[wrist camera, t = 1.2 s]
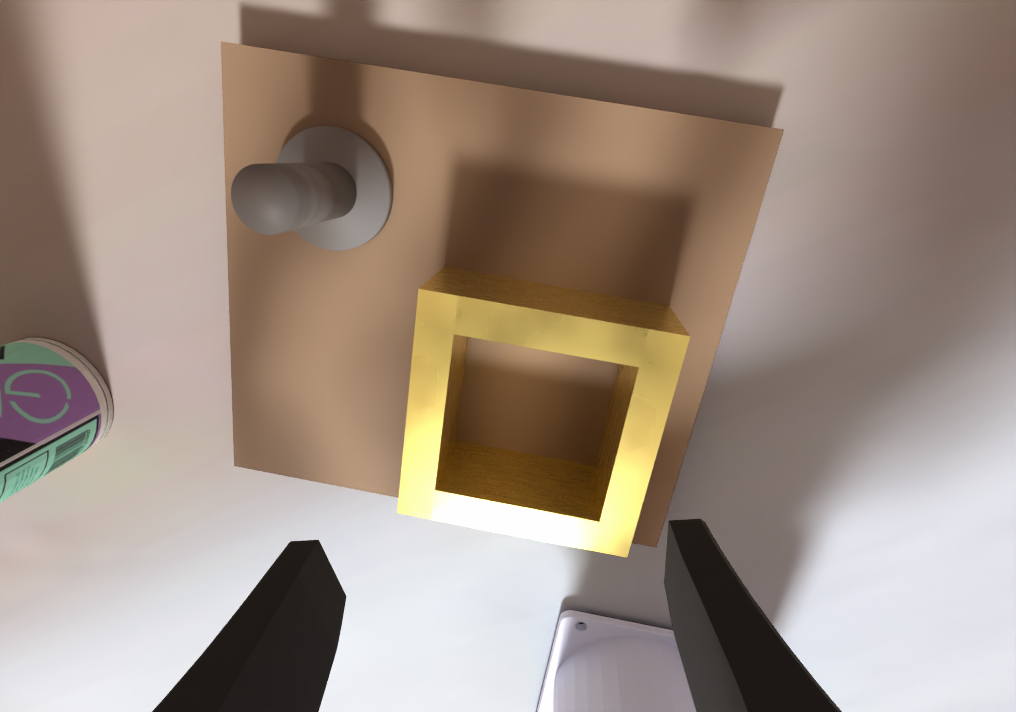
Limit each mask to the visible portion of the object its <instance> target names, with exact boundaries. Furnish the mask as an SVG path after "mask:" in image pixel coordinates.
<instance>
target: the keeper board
mask: <svg viewBox="0 0 1016 712" xmlns="http://www.w3.org/2000/svg"><path fill="white" fill-rule="evenodd" d="M221 58H222V90H223V122H224V154H225V186H226V217H227V249H228V281H229V313H230V345H231V377H232V409H233V441H234V466H238V467H243V468H248V469H253V470H258V471H263V472H269V473H274V474H279V475H284V476H289V477H294V478H300V479H305V480H310V481H315V482H320V483H326V484H331V485H336V486H341V487H346V488H351V489H357V490H362V491H367V492H372V493H377V494H382V495H388V496H393V497H398V498H399V488H400V478H401V467H402V457H403V446H404V436H405V425H406V415H407V404H408V394H409V383H410V373H411V362H412V352H413V341H414V330H415V320H416V309H417V299H418V289H419V288H420V287H421V286H422V285H423V284H425V283H426V282H427V281H428V280H429V279H430V278H431V277H433V276H434V275H435V274H436V273H437V272H438V271H439V270H441V269H442V268H443V267H449V268H455V269H461V270H467V271H472V272H478V273H484V274H490V275H496V276H501V277H507V278H513V279H519V280H524V281H530V282H536V283H542V284H548V285H553V286H559V287H565V288H571V289H577V290H582V291H588V292H594V293H600V294H605V295H611V296H617V297H623V298H629V299H634V300H640V301H646V302H652V303H658V304H663V305H669V306H670V307H671V309H672V310H673V312H674V313H675V314H676V316H677V317H678V319H679V320H680V322H681V323H682V325H683V326H684V328H685V329H686V331H687V332H688V334H689V335H690V339H689V343H688V346H687V350H686V354H685V357H684V361H683V364H682V368H681V371H680V375H679V378H678V382H677V385H676V389H675V392H674V396H673V399H672V403H671V406H670V410H669V413H668V417H667V420H666V424H665V427H664V431H663V434H662V438H661V441H660V445H659V448H658V452H657V455H656V459H655V462H654V466H653V469H652V473H651V476H650V480H649V483H648V487H647V490H646V494H645V497H644V501H643V504H642V508H641V511H640V515H639V518H638V522H637V525H636V529H635V532H634V536H633V539H632V543H636V544H641V545H646V546H651V547H657V543H658V540H659V537H660V533H661V530H662V527H663V524H664V520H665V517H666V514H667V511H668V507H669V504H670V501H671V498H672V494H673V491H674V488H675V484H676V481H677V478H678V475H679V471H680V468H681V465H682V462H683V458H684V455H685V452H686V448H687V445H688V442H689V439H690V435H691V432H692V429H693V426H694V422H695V419H696V416H697V413H698V409H699V406H700V403H701V399H702V396H703V393H704V390H705V386H706V383H707V380H708V377H709V373H710V370H711V367H712V363H713V360H714V357H715V354H716V350H717V347H718V344H719V341H720V337H721V334H722V331H723V328H724V324H725V321H726V318H727V314H728V311H729V308H730V305H731V301H732V298H733V295H734V292H735V288H736V285H737V282H738V278H739V275H740V272H741V269H742V265H743V262H744V259H745V256H746V252H747V249H748V246H749V243H750V239H751V236H752V233H753V229H754V226H755V223H756V220H757V216H758V213H759V210H760V207H761V203H762V200H763V197H764V193H765V190H766V187H767V184H768V180H769V177H770V174H771V171H772V167H773V164H774V161H775V158H776V154H777V151H778V148H779V144H780V141H781V138H782V135H783V131H784V130H783V129H777V128H770V127H764V126H758V125H751V124H745V123H738V122H732V121H726V120H719V119H713V118H707V117H700V116H694V115H687V114H681V113H675V112H668V111H662V110H655V109H649V108H643V107H636V106H630V105H623V104H617V103H611V102H604V101H598V100H592V99H585V98H579V97H572V96H566V95H560V94H553V93H547V92H540V91H534V90H528V89H521V88H515V87H509V86H502V85H496V84H489V83H483V82H477V81H470V80H464V79H457V78H451V77H445V76H438V75H432V74H425V73H419V72H413V71H406V70H400V69H394V68H387V67H381V66H374V65H368V64H362V63H355V62H349V61H342V60H336V59H330V58H323V57H317V56H311V55H304V54H298V53H291V52H285V51H279V50H272V49H266V48H259V47H253V46H247V45H240V44H234V43H227V42H221ZM618 368H619V364H618V363H612V362H607V361H601V360H595V359H590V358H584V357H579V356H573V355H567V354H562V353H556V352H551V351H545V350H539V349H534V348H528V347H523V346H517V345H511V344H506V343H500V342H495V341H489V340H483V339H478V338H472V337H469V338H468V346H467V353H466V361H465V368H464V376H463V383H462V391H461V398H460V406H459V414H458V421H457V429H456V436H455V440H457V441H463V442H468V443H473V444H479V445H484V446H489V447H495V448H500V449H505V450H511V451H516V452H521V453H527V454H532V455H537V456H543V457H548V458H553V459H559V460H564V461H569V462H575V463H580V464H585V465H591V466H595V464H596V460H597V456H598V451H599V447H600V443H601V439H602V435H603V431H604V426H605V422H606V418H607V414H608V410H609V406H610V402H611V397H612V393H613V389H614V385H615V381H616V377H617V372H618Z"/></svg>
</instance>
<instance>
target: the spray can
mask: <svg viewBox="0 0 1016 712" xmlns="http://www.w3.org/2000/svg"><path fill="white" fill-rule="evenodd" d="M112 420H113V404H112V398H111V396H110V393H109V390H108V387H107V385H106V384H105V382H104V380H103V378H102V376H101V375H100V374H99V373H98V371H97V370H96V369H95V367H94V366H93V365H92V364H91V363H90V362H89V361H88V360H87V359H86V358H85V357H83V356H82V355H81V354H79V353H78V352H77V351H75V350H74V349H72V348H70V347H68V346H66V345H64V344H63V343H60V342H57V341H54V340H51V339H45V338H26V339H22V340H19V341H15V342H11V343H7V344H4V345H1V346H0V502H2V501H4V500H5V499H7V498H9V497H10V496H12V495H13V494H15V493H17V492H18V491H20V490H22V489H23V488H25V487H27V486H28V485H30V484H32V483H33V482H35V481H37V480H38V479H40V478H42V477H43V476H45V475H46V474H48V473H50V472H51V471H53V470H55V469H56V468H58V467H60V466H61V465H63V464H65V463H66V462H68V461H70V460H71V459H73V458H75V457H76V456H78V455H79V454H81V453H83V452H84V451H86V450H88V449H89V448H91V447H92V446H93V445H95V444H97V443H98V442H99V441H100V440H102V439H103V438H104V437H105V436H106V434H107V432H108V431H109V429H110V427H111V424H112Z"/></svg>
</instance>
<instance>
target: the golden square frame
mask: <svg viewBox="0 0 1016 712" xmlns="http://www.w3.org/2000/svg"><path fill="white" fill-rule="evenodd" d="M469 337H472V338H478V339H483V340H489V341H495V342H500V343H506V344H511V345H517V346H523V347H528V348H534V349H539V350H545V351H551V352H556V353H562V354H567V355H573V356H579V357H584V358H590V359H595V360H601V361H607V362H612V363H618V364H619V368H618V372H617V377H616V381H615V385H614V389H613V393H612V397H611V402H610V406H609V410H608V414H607V418H606V422H605V426H604V431H603V435H602V439H601V443H600V447H599V451H598V456H597V460H596V464H595V466H591V465H585V464H580V463H575V462H569V461H564V460H559V459H553V458H548V457H543V456H537V455H532V454H527V453H521V452H516V451H511V450H505V449H500V448H495V447H489V446H484V445H479V444H473V443H468V442H463V441H457V440H455V436H456V429H457V421H458V414H459V406H460V398H461V391H462V383H463V376H464V368H465V361H466V353H467V346H468V338H469ZM689 339H690V335H689V334H688V332H687V331H686V329H685V328H684V326H683V325H682V323H681V322H680V320H679V319H678V317H677V316H676V314H675V313H674V312H673V310H672V309H671V307H670V306H669V305H663V304H658V303H652V302H646V301H640V300H634V299H629V298H623V297H617V296H611V295H605V294H600V293H594V292H588V291H582V290H577V289H571V288H565V287H559V286H553V285H548V284H542V283H536V282H530V281H524V280H519V279H513V278H507V277H501V276H496V275H490V274H484V273H478V272H472V271H467V270H461V269H455V268H449V267H443V268H442V269H441V270H439V271H438V272H437V273H436V274H435V275H434V276H433V277H431V278H430V279H429V280H428V281H427V282H426V283H425V284H423V285H422V286H421V287H420V288H419V289H418V299H417V309H416V320H415V330H414V341H413V352H412V362H411V373H410V383H409V394H408V404H407V415H406V425H405V436H404V446H403V457H402V467H401V478H400V488H399V499H398V510H397V513H400V514H405V515H411V516H416V517H421V518H426V519H431V520H436V521H441V522H447V523H452V524H457V525H462V526H467V527H472V528H477V529H483V530H488V531H493V532H498V533H503V534H508V535H513V536H518V537H524V538H529V539H534V540H539V541H544V542H549V543H554V544H560V545H565V546H570V547H575V548H580V549H585V550H590V551H595V552H601V553H606V554H611V555H616V556H621V557H626V558H627V557H628V554H629V550H630V546H631V543H632V539H633V536H634V532H635V529H636V525H637V522H638V518H639V515H640V511H641V508H642V504H643V501H644V497H645V494H646V490H647V487H648V483H649V480H650V476H651V473H652V469H653V466H654V462H655V459H656V455H657V452H658V448H659V445H660V441H661V438H662V434H663V431H664V427H665V424H666V420H667V417H668V413H669V410H670V406H671V403H672V399H673V396H674V392H675V389H676V385H677V382H678V378H679V375H680V371H681V368H682V364H683V361H684V357H685V354H686V350H687V346H688V343H689Z"/></svg>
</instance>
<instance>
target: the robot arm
mask: <svg viewBox="0 0 1016 712" xmlns="http://www.w3.org/2000/svg"><path fill="white" fill-rule="evenodd" d="M664 584H665V589H666V595H667V600H668V606H669V611H670V616H671V621H672V627H673V630H669V629H664V628H659V627H654V626H649V625H644V624H639V623H634V622H629V621H624V620H619V619H614V618H609V617H604V616H599V615H594V614H589V613H584V612H579V611H574V610H567V611H564V612H562V613H561V615H560V617H559V621H558V625H557V630H556V634H555V638H554V642H553V646H552V650H551V654H550V659H549V663H548V667H547V671H546V675H545V679H544V683H543V688H542V692H541V696H540V700H539V704H538V708H537V712H842V711H841V710H840V709H839V708H838V707H837V706H836V704H835V703H834V702H833V701H832V700H831V699H830V697H829V696H828V695H827V694H826V693H825V691H824V690H823V689H822V688H821V686H820V685H819V684H818V683H817V682H816V680H815V679H814V678H813V677H812V675H811V674H810V673H809V672H808V670H807V669H806V668H805V667H804V665H803V664H802V663H801V662H800V660H799V659H798V658H797V657H796V655H795V654H794V653H793V651H792V650H791V649H790V648H789V646H788V645H787V644H786V642H785V641H784V640H783V638H782V637H781V636H780V634H779V633H778V632H777V630H776V629H775V628H774V626H773V625H772V623H771V622H770V621H769V619H768V618H767V617H766V615H765V614H764V613H763V611H762V610H761V608H760V607H759V606H758V604H757V603H756V602H755V600H754V599H753V597H752V596H751V594H750V593H749V591H748V590H747V589H746V587H745V586H744V584H743V583H742V581H741V580H740V578H739V577H738V575H737V574H736V572H735V571H734V569H733V568H732V566H731V564H730V563H729V561H728V560H727V558H726V557H725V555H724V553H723V552H722V550H721V549H720V547H719V545H718V544H717V542H716V540H715V539H714V537H713V535H712V533H711V532H710V530H709V528H708V526H707V525H706V523H705V522H704V521H703V520H701V519H690V520H671V521H669V524H668V538H667V551H666V564H665V578H664ZM345 601H346V595H345V593H344V591H343V589H342V587H341V585H340V583H339V581H338V579H337V576H336V574H335V572H334V570H333V568H332V566H331V564H330V562H329V560H328V558H327V556H326V554H325V552H324V550H323V548H322V546H321V544H320V542H319V540H308V541H291V542H290V543H289V544H288V545H287V547H286V548H285V549H284V550H283V552H282V553H281V554H280V556H279V557H278V558H277V559H276V561H275V562H274V563H273V565H272V566H271V567H270V569H269V570H268V571H267V572H266V574H265V575H264V576H263V578H262V579H261V580H260V582H259V583H258V584H257V586H256V587H255V588H254V589H253V591H252V592H251V593H250V595H249V596H248V597H247V599H246V600H245V601H244V602H243V604H242V605H241V606H240V608H239V609H238V610H237V611H236V613H235V614H234V615H233V616H232V618H231V619H230V620H229V621H228V623H227V624H226V625H225V626H224V628H223V629H222V630H221V631H220V633H219V634H218V635H217V636H216V638H215V639H214V640H213V641H212V643H211V644H210V645H209V646H208V648H207V649H206V650H205V651H204V652H203V654H202V655H201V656H200V657H199V658H198V660H197V661H196V662H195V663H194V664H193V665H192V667H191V668H190V669H189V670H188V671H187V672H186V674H185V675H184V676H183V677H182V678H181V679H180V681H179V682H178V683H177V684H176V685H175V686H174V688H173V689H172V690H171V691H170V692H169V693H168V695H167V696H166V697H165V698H164V699H163V700H162V701H161V702H160V704H159V705H158V706H157V707H156V708H155V709H154V710H153V711H152V712H318V711H319V708H320V705H321V701H322V698H323V695H324V691H325V688H326V684H327V681H328V678H329V674H330V671H331V667H332V664H333V661H334V657H335V654H336V650H337V646H338V641H339V635H340V630H341V625H342V619H343V613H344V607H345ZM579 622H583V623H584V624H579Z"/></svg>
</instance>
